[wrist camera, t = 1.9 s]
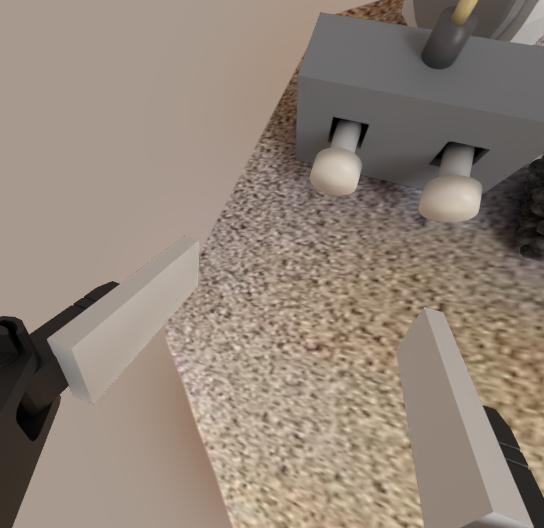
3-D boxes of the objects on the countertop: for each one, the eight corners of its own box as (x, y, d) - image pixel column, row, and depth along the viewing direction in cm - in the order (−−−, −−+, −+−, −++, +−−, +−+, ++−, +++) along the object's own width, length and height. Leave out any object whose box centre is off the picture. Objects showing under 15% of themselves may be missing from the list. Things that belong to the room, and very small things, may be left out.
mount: (481, 149, 36) (585, 53, 23) (472, 201, 34) (578, 128, 22) (310, 113, 39) (320, 12, 26) (295, 159, 37) (297, 75, 25)
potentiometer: (458, 46, 24) (495, -17, 20) (452, 72, 24) (490, 13, 19) (424, 41, 25) (454, -22, 20) (418, 66, 24) (447, 7, 20)
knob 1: (365, 146, 32) (379, 113, 27) (350, 199, 31) (362, 175, 26) (324, 137, 33) (330, 103, 28) (308, 188, 31) (311, 162, 26)
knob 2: (468, 169, 31) (503, 138, 25) (457, 226, 29) (492, 205, 24) (422, 159, 31) (447, 127, 26) (410, 214, 30) (434, 192, 25)
